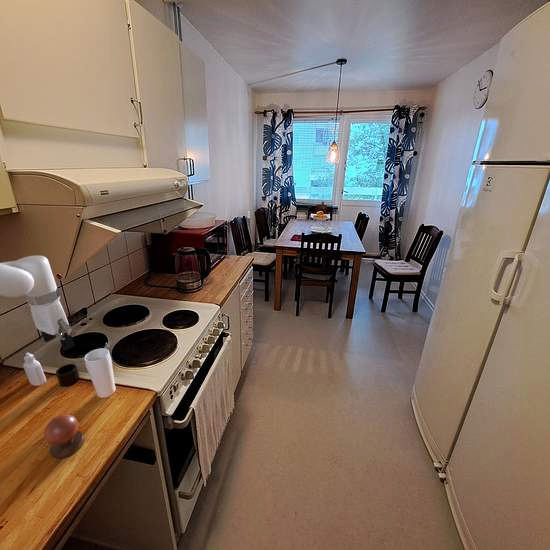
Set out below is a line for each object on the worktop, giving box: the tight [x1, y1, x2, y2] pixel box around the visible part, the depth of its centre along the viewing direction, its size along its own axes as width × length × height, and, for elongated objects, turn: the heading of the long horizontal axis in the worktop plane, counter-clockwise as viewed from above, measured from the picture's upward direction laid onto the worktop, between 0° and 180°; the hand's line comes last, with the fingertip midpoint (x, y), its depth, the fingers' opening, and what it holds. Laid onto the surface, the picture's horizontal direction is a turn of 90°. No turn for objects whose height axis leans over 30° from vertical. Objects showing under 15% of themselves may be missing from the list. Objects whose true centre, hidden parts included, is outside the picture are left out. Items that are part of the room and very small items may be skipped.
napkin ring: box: [55, 363, 81, 388], centre depth 96 cm, size 6×6×5 cm
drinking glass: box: [83, 347, 117, 399], centre depth 90 cm, size 7×7×15 cm
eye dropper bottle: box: [22, 352, 47, 387], centre depth 94 cm, size 4×6×12 cm
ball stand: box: [43, 413, 85, 460], centre depth 74 cm, size 7×7×10 cm
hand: (59, 343), depth 92 cm, fingers open, 9 cm apart
